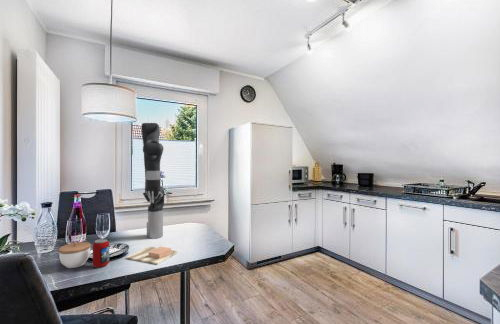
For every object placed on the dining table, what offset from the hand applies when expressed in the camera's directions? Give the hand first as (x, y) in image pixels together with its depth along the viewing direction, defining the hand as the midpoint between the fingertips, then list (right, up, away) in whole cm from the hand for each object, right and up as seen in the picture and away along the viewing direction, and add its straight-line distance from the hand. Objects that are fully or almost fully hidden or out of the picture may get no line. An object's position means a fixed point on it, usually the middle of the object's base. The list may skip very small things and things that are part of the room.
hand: (153, 209), depth 135 cm
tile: (+3, -21, -6) cm, 22 cm away
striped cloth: (+3, -23, -7) cm, 24 cm away
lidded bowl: (-30, -23, -19) cm, 42 cm away
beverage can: (-18, -23, -19) cm, 35 cm away
